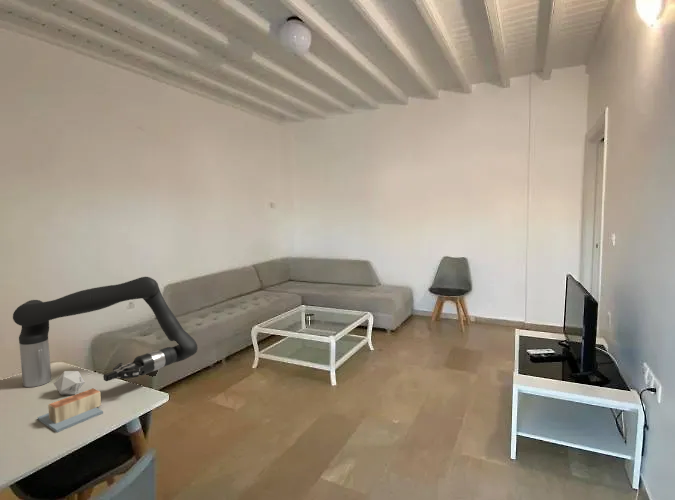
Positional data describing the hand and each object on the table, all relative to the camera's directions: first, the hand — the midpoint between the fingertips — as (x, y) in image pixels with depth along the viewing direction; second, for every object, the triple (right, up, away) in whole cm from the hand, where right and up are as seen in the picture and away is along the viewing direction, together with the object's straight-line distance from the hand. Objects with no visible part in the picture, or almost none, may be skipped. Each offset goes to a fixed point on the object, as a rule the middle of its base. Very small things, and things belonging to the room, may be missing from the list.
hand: (104, 378), depth 143 cm
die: (-18, -9, +8) cm, 22 cm away
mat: (-6, -10, -9) cm, 15 cm away
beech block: (-2, -6, -2) cm, 6 cm away
